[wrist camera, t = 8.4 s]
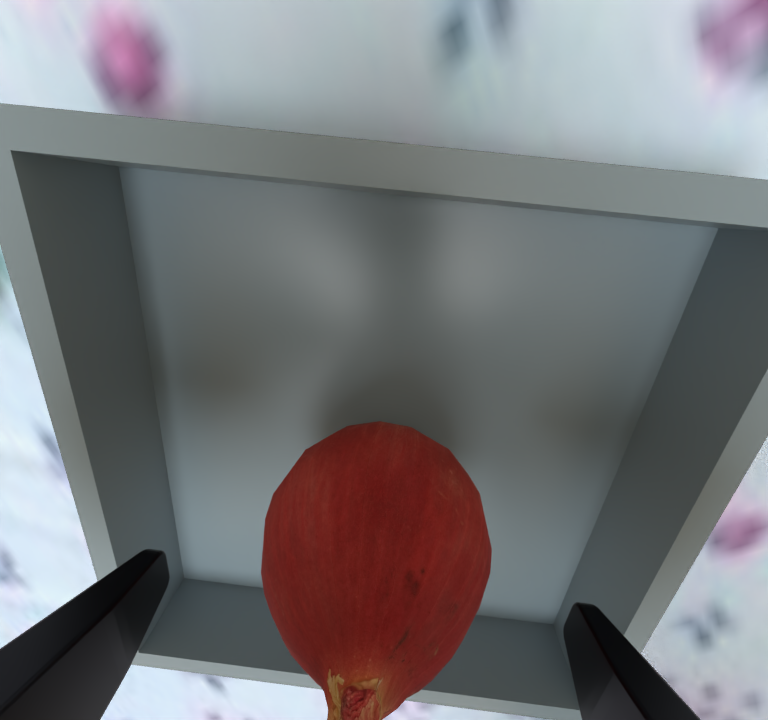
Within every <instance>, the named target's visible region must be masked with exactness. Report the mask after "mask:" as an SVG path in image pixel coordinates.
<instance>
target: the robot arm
mask: <svg viewBox="0 0 768 720" xmlns="http://www.w3.org/2000/svg"><path fill="white" fill-rule="evenodd" d="M169 580H170V573H169V568H168V562H167V557H166V553H165V552H164V551H163V550H156V549H145V550H143V551H141V552H139V553H138V554H136V555H135V556H133V557H132V558H130V559H129V560H128V561H126V562H125V563H123V564H122V565H120V566H119V567H118V568H116V569H115V570H113V571H112V572H110V573H109V574H107V575H106V576H105V577H103V578H102V579H100V580H99V581H97V582H96V583H94V584H93V585H92V586H90V587H89V588H87V589H86V590H84V591H83V592H81V593H80V594H79V595H77V596H76V597H74V598H73V599H71V600H70V601H69V602H67V603H66V604H64V605H63V606H61V607H60V608H58V609H57V610H56V611H54V612H53V613H51V614H50V615H48V616H47V617H45V618H44V619H43V620H41V621H40V622H38V623H37V624H35V625H34V626H32V627H31V628H30V629H28V630H27V631H25V632H24V633H22V634H21V635H20V636H18V637H17V638H15V639H14V640H12V641H11V642H9V643H8V644H7V645H5V646H4V647H2V648H1V649H0V720H100V719H101V717H102V716H103V714H104V712H105V710H106V709H107V707H108V705H109V703H110V702H111V700H112V698H113V696H114V695H115V693H116V691H117V689H118V688H119V686H120V684H121V682H122V680H123V679H124V677H125V675H126V673H127V671H128V670H129V668H130V666H131V664H132V662H133V660H134V658H135V656H136V653H137V651H138V649H139V647H140V645H141V643H142V641H143V638H144V636H145V634H146V632H147V630H148V628H149V626H150V623H151V621H152V619H153V617H154V615H155V613H156V611H157V608H158V606H159V604H160V602H161V600H162V598H163V596H164V593H165V591H166V589H167V587H168V584H169ZM563 636H564V641H565V646H566V650H567V655H568V659H569V664H570V669H571V673H572V678H573V682H574V687H575V691H576V696H577V700H578V705H579V709H580V714H581V718H582V720H700V718H699V717H698V716H697V715H696V714H695V713H694V712H693V711H692V710H691V709H690V707H689V706H688V705H687V704H686V703H685V702H684V701H683V700H682V699H681V698H680V697H679V695H678V694H677V693H676V692H675V691H674V690H673V689H672V688H671V687H670V686H669V685H668V683H667V682H666V681H665V680H664V679H663V678H662V677H661V676H660V675H659V674H658V672H657V671H656V670H655V669H654V668H653V667H652V666H651V665H650V664H649V663H648V662H647V660H646V659H645V658H644V657H643V656H642V655H641V654H640V653H639V652H638V651H637V649H636V648H635V647H634V646H633V645H632V644H631V643H630V642H629V641H628V640H627V639H626V637H625V636H624V635H623V634H622V633H621V632H620V631H619V630H618V629H617V628H616V626H615V625H614V624H613V623H612V622H611V621H610V620H609V619H608V618H607V617H606V616H605V614H604V613H603V612H602V611H601V610H600V609H599V608H598V607H597V606H595V605H594V604H590V603H582V602H575V603H574V604H573V605H572V607H571V610H570V612H569V614H568V617H567V619H566V621H565V623H564V627H563Z"/></svg>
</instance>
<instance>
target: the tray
mask: <svg viewBox="0 0 768 720" xmlns="http://www.w3.org/2000/svg"><path fill="white" fill-rule="evenodd" d="M0 245H1V249H2V252H3V256H4V259H5V263H6V266H7V270H8V273H9V276H10V280H11V283H12V287H13V290H14V294H15V297H16V301H17V304H18V307H19V311H20V314H21V318H22V321H23V325H24V328H25V332H26V335H27V339H28V342H29V345H30V349H31V352H32V356H33V359H34V363H35V366H36V370H37V373H38V377H39V380H40V383H41V387H42V390H43V394H44V397H45V401H46V404H47V408H48V411H49V415H50V418H51V421H52V425H53V428H54V432H55V435H56V439H57V442H58V446H59V449H60V453H61V456H62V459H63V463H64V466H65V470H66V473H67V477H68V480H69V484H70V487H71V491H72V494H73V497H74V501H75V504H76V508H77V511H78V515H79V518H80V522H81V525H82V528H83V532H84V535H85V539H86V542H87V546H88V549H89V553H90V556H91V560H92V563H93V566H94V570H95V573H96V577H97V580H98V581H99V580H100V579H102V578H103V577H105V576H106V575H107V574H109V573H110V572H112V571H113V570H115V569H116V568H118V567H119V566H120V565H122V564H123V563H125V562H126V561H128V560H129V559H130V558H132V557H133V556H135V555H136V554H138V553H139V552H141V551H143V550H145V549H156V550H163V551H164V552H165V553H166V557H167V562H168V568H169V573H170V580H169V584H168V587H167V589H166V591H165V593H164V596H163V598H162V600H161V602H160V604H159V606H158V608H157V611H156V613H155V615H154V617H153V619H152V621H151V623H150V626H149V628H148V630H147V632H146V634H145V636H144V638H143V641H142V643H141V645H140V647H139V649H138V651H137V653H136V656H135V658H134V660H133V662H132V665H139V666H147V667H155V668H162V669H170V670H178V671H185V672H193V673H200V674H208V675H216V676H223V677H231V678H239V679H246V680H254V681H262V682H269V683H277V684H284V685H292V686H300V687H307V688H315V689H322V688H321V687H320V686H319V685H318V684H317V683H316V682H315V681H314V680H313V679H312V678H311V677H310V676H309V675H308V674H307V673H306V672H305V670H304V669H303V668H302V667H301V666H300V665H299V664H298V663H297V661H296V660H295V659H294V658H293V657H292V656H291V654H290V652H289V650H288V649H287V647H286V645H285V643H284V642H283V640H282V638H281V635H280V633H279V631H278V629H277V626H276V624H275V622H274V620H273V618H272V615H271V613H270V610H269V607H268V604H267V601H266V598H265V595H264V589H263V583H262V576H261V565H262V551H263V539H264V527H265V518H266V514H267V511H268V508H269V505H270V502H271V499H272V496H273V493H274V492H275V491H276V489H277V488H278V486H279V485H280V484H281V482H282V481H283V480H284V478H285V477H286V476H287V474H288V473H289V471H290V470H291V469H292V467H293V466H294V465H295V463H296V462H297V460H298V459H299V458H300V456H301V455H302V454H303V452H304V451H305V450H306V449H308V448H309V447H311V446H313V445H314V444H316V443H318V442H320V441H321V440H323V439H325V438H326V437H328V436H330V435H332V434H333V433H335V432H337V431H339V430H341V429H343V428H344V427H346V426H349V425H356V424H363V423H370V422H377V421H382V422H387V423H392V424H398V425H403V426H409V427H412V428H414V429H416V430H417V431H419V432H421V433H422V434H424V435H426V436H427V437H429V438H431V439H433V440H434V441H436V442H438V443H439V444H441V445H443V446H444V447H446V448H448V449H449V450H450V451H451V452H452V454H453V455H454V456H455V458H456V459H457V460H458V461H459V463H460V464H461V465H462V467H463V468H464V469H465V471H466V472H467V473H468V475H469V476H470V478H471V480H472V481H473V483H474V485H475V486H476V488H477V490H478V491H479V493H480V497H481V501H482V506H483V510H484V515H485V520H486V524H487V529H488V534H489V538H490V543H491V548H492V555H491V570H490V575H489V579H488V582H487V585H486V588H485V592H484V595H483V598H482V601H481V605H480V608H479V610H478V612H477V614H476V615H475V617H474V619H473V621H472V623H471V625H470V627H469V629H468V631H467V633H466V635H465V637H464V639H463V641H462V643H461V644H460V646H459V647H458V649H457V651H456V652H455V654H454V655H453V657H452V659H451V660H450V661H449V662H448V663H447V664H446V665H445V667H444V668H443V669H442V670H441V671H440V672H439V673H438V674H437V676H436V677H435V678H434V679H433V680H432V681H431V682H430V683H429V684H428V685H426V686H425V687H424V688H423V689H421V690H420V691H419V692H417V693H415V694H413V695H412V696H410V697H408V698H406V701H414V702H422V703H429V704H437V705H445V706H452V707H460V708H468V709H475V710H483V711H490V712H498V713H506V714H513V715H521V716H529V717H536V718H544V719H551V720H582V718H581V714H580V709H579V705H578V700H577V696H576V691H575V687H574V682H573V678H572V673H571V669H570V664H569V659H568V655H567V650H566V646H565V641H564V636H563V627H564V623H565V621H566V619H567V617H568V614H569V612H570V610H571V607H572V605H573V604H574V603H575V602H582V603H590V604H594V605H595V606H597V607H598V608H599V609H600V610H601V611H602V612H603V613H604V614H605V616H606V617H607V618H608V619H609V620H610V621H611V622H612V623H613V624H614V625H615V626H616V628H617V629H618V630H619V631H620V632H621V633H622V634H623V635H624V636H625V637H626V639H627V640H628V641H629V642H630V643H631V644H632V645H633V646H634V647H635V648H636V649H637V651H638V652H639V653H640V654H641V652H642V650H643V649H644V647H645V645H646V643H647V642H648V640H649V638H650V637H651V635H652V633H653V631H654V630H655V628H656V626H657V625H658V623H659V621H660V619H661V618H662V616H663V614H664V613H665V611H666V609H667V607H668V606H669V604H670V602H671V601H672V599H673V597H674V595H675V594H676V592H677V590H678V589H679V587H680V585H681V583H682V582H683V580H684V578H685V577H686V575H687V573H688V571H689V570H690V568H691V566H692V565H693V563H694V561H695V559H696V558H697V556H698V554H699V553H700V551H701V549H702V547H703V546H704V544H705V542H706V541H707V539H708V537H709V535H710V534H711V532H712V530H713V529H714V527H715V525H716V523H717V522H718V520H719V518H720V517H721V515H722V513H723V511H724V510H725V508H726V506H727V505H728V503H729V501H730V500H731V498H732V496H733V494H734V493H735V491H736V489H737V488H738V486H739V484H740V482H741V481H742V479H743V477H744V476H745V474H746V472H747V470H748V469H749V467H750V465H751V464H752V462H753V460H754V458H755V457H756V455H757V453H758V452H759V450H760V448H761V446H762V445H763V443H764V441H765V440H766V438H767V436H768V180H764V179H754V178H744V177H734V176H724V175H714V174H704V173H694V172H684V171H674V170H664V169H654V168H644V167H634V166H624V165H614V164H604V163H594V162H584V161H574V160H564V159H554V158H544V157H534V156H524V155H514V154H504V153H494V152H484V151H474V150H463V149H453V148H443V147H433V146H423V145H413V144H403V143H393V142H383V141H373V140H363V139H353V138H343V137H333V136H323V135H313V134H303V133H293V132H283V131H273V130H263V129H253V128H243V127H233V126H223V125H213V124H203V123H193V122H183V121H173V120H163V119H153V118H143V117H133V116H123V115H113V114H103V113H93V112H83V111H73V110H63V109H53V108H43V107H33V106H23V105H13V104H3V103H0Z"/></svg>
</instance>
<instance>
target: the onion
mask: <svg viewBox="0 0 768 720" xmlns="http://www.w3.org/2000/svg"><path fill="white" fill-rule="evenodd" d="M491 555H492V548H491V543H490V538H489V534H488V529H487V524H486V520H485V515H484V510H483V506H482V501H481V497H480V493H479V491H478V490H477V488H476V486H475V485H474V483H473V481H472V480H471V478H470V476H469V475H468V473H467V472H466V471H465V469H464V468H463V467H462V465H461V464H460V463H459V461H458V460H457V459H456V458H455V456H454V455H453V454H452V452H451V451H450V450H449V449H448V448H446V447H444V446H443V445H441V444H439V443H438V442H436V441H434V440H433V439H431V438H429V437H427V436H426V435H424V434H422V433H421V432H419V431H417V430H416V429H414V428H412V427H409V426H403V425H398V424H392V423H387V422H382V421H377V422H370V423H363V424H356V425H349V426H346V427H344V428H343V429H341V430H339V431H337V432H335V433H333V434H332V435H330V436H328V437H326V438H325V439H323V440H321V441H320V442H318V443H316V444H314V445H313V446H311V447H309V448H308V449H306V450H305V451H304V452H303V454H302V455H301V456H300V458H299V459H298V460H297V462H296V463H295V465H294V466H293V467H292V469H291V470H290V471H289V473H288V474H287V476H286V477H285V478H284V480H283V481H282V482H281V484H280V485H279V486H278V488H277V489H276V491H275V492H274V493H273V496H272V499H271V502H270V505H269V508H268V511H267V514H266V518H265V527H264V539H263V551H262V565H261V576H262V583H263V589H264V595H265V598H266V601H267V604H268V607H269V610H270V613H271V615H272V618H273V620H274V622H275V624H276V626H277V629H278V631H279V633H280V635H281V638H282V640H283V642H284V643H285V645H286V647H287V649H288V650H289V652H290V654H291V656H292V657H293V658H294V659H295V660H296V661H297V663H298V664H299V665H300V666H301V667H302V668H303V669H304V670H305V672H306V673H307V674H308V675H309V676H310V677H311V678H312V679H313V680H314V681H315V682H316V683H317V684H318V685H319V686H320V687H321V688H322V689H323V691H324V693H325V697H326V701H327V706H328V719H327V720H382V719H383V718H385V717H386V716H388V715H389V714H390V713H392V712H393V711H395V710H396V709H397V708H398V707H399V706H400V705H401V704H402V703H403V702H404V701H405V700H406V698H408V697H410V696H412V695H413V694H415V693H417V692H419V691H420V690H421V689H423V688H424V687H425V686H426V685H428V684H429V683H430V682H431V681H432V680H433V679H434V678H435V677H436V676H437V674H438V673H439V672H440V671H441V670H442V669H443V668H444V667H445V665H446V664H447V663H448V662H449V661H450V660H451V659H452V657H453V655H454V654H455V652H456V651H457V649H458V647H459V646H460V644H461V643H462V641H463V639H464V637H465V635H466V633H467V631H468V629H469V627H470V625H471V623H472V621H473V619H474V617H475V615H476V614H477V612H478V610H479V608H480V605H481V601H482V598H483V595H484V592H485V588H486V585H487V582H488V579H489V575H490V570H491Z"/></svg>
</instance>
